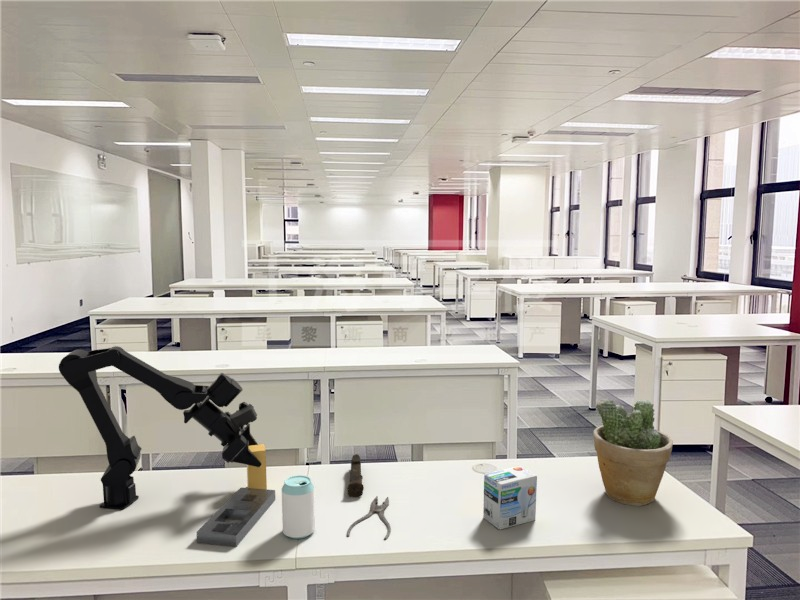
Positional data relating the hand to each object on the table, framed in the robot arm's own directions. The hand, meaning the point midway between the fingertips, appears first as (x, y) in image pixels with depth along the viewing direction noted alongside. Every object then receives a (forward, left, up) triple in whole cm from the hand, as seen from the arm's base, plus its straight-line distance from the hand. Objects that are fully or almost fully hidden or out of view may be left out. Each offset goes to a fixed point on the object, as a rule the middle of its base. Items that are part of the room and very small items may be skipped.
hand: (260, 458), depth 152 cm
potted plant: (+93, +12, -8) cm, 94 cm away
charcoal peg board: (+1, -16, -8) cm, 18 cm away
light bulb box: (+63, -5, -8) cm, 64 cm away
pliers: (+31, -10, -9) cm, 34 cm away
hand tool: (+22, +8, -8) cm, 25 cm away
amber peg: (-1, -1, -8) cm, 8 cm away
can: (+17, -19, -8) cm, 27 cm away
